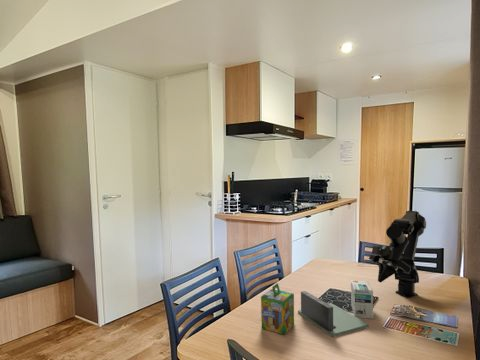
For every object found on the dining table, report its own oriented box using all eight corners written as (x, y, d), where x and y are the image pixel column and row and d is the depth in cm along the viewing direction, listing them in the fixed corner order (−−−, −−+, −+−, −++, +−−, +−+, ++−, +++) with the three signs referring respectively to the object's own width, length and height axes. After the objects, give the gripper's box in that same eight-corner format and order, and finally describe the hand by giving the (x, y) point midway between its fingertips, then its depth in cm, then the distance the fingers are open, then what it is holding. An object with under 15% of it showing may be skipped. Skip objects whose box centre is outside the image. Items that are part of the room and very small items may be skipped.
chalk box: (284, 335, 108) (284, 292, 107) (260, 329, 113) (260, 287, 112) (295, 324, 116) (294, 283, 115) (272, 318, 120) (271, 279, 120)
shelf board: (331, 305, 131) (331, 302, 131) (368, 327, 113) (368, 324, 113) (298, 312, 125) (298, 310, 125) (332, 337, 106) (332, 334, 106)
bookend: (309, 310, 124) (309, 290, 124) (337, 329, 110) (337, 305, 109) (301, 312, 123) (300, 291, 122) (328, 331, 108) (328, 308, 108)
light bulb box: (373, 319, 119) (373, 290, 118) (354, 317, 120) (354, 289, 120) (368, 307, 129) (368, 280, 129) (350, 305, 130) (350, 279, 130)
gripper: (367, 235, 140) (350, 267, 137) (397, 239, 121) (378, 275, 118) (387, 249, 141) (371, 280, 138) (419, 255, 123) (401, 291, 120)
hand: (379, 281), depth 128 cm, fingers closed
